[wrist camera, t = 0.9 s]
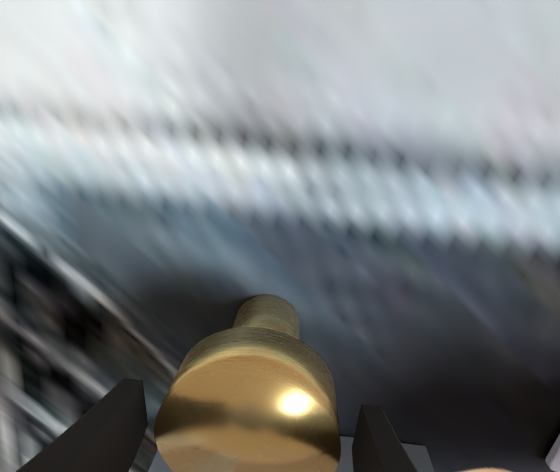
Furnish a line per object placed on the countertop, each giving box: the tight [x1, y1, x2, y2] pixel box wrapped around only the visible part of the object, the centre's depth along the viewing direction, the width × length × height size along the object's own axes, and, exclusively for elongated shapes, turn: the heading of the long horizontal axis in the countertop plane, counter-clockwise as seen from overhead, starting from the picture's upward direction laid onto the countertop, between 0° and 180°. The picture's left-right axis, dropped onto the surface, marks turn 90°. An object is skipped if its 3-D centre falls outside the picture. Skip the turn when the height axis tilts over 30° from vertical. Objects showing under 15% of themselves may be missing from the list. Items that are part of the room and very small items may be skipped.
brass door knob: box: [154, 295, 341, 472], centre depth 12 cm, size 6×6×6 cm
